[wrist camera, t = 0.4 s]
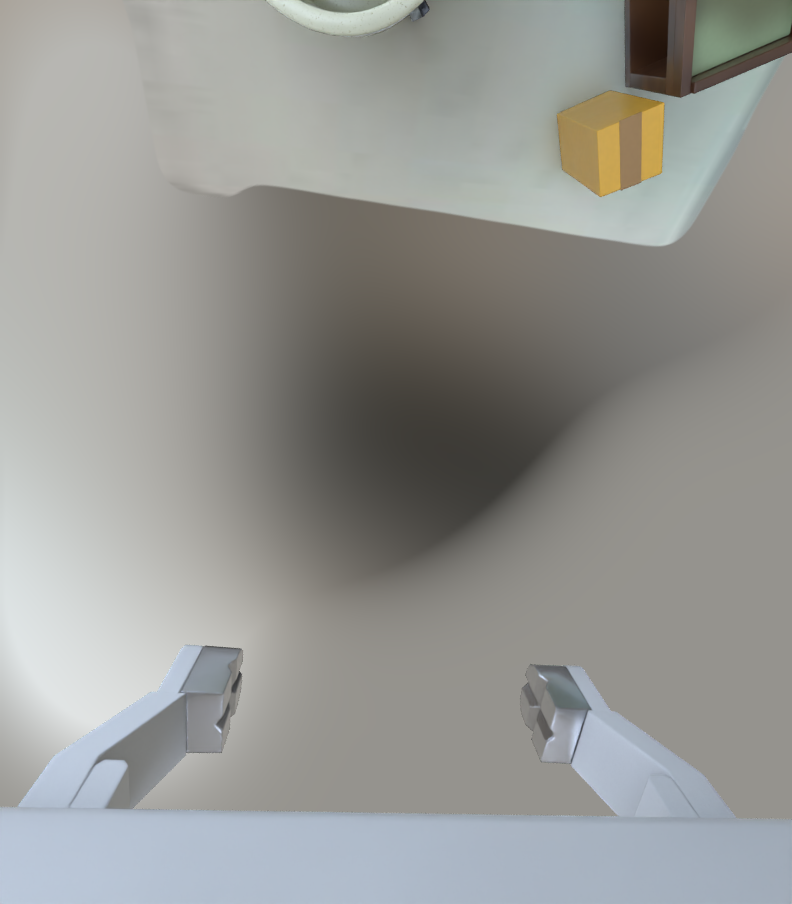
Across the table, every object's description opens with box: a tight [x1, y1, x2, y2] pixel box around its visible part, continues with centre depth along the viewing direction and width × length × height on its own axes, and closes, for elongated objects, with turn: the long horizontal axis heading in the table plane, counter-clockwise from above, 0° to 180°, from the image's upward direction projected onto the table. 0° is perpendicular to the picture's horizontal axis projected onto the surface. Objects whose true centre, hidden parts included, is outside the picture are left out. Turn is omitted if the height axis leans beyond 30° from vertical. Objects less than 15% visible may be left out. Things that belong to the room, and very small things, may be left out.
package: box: [557, 90, 664, 197], centre depth 43 cm, size 6×6×12 cm
